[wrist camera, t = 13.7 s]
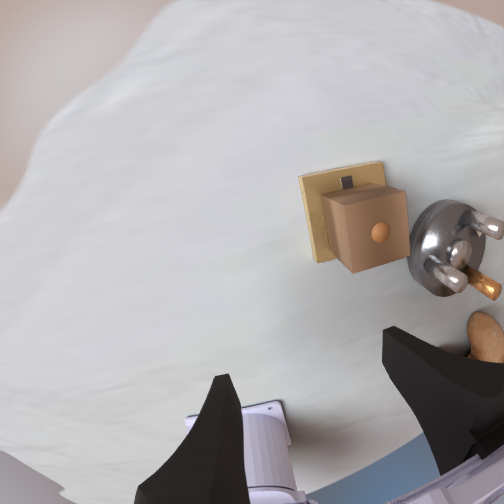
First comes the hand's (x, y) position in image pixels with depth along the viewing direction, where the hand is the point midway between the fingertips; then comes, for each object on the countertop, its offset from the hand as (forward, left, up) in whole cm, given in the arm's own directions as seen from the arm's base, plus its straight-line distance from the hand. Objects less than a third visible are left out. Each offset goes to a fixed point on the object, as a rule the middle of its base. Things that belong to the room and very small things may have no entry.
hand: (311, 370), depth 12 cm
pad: (+6, +4, -10) cm, 12 cm away
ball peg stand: (+15, -1, -10) cm, 18 cm away
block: (+6, +4, -9) cm, 11 cm away
